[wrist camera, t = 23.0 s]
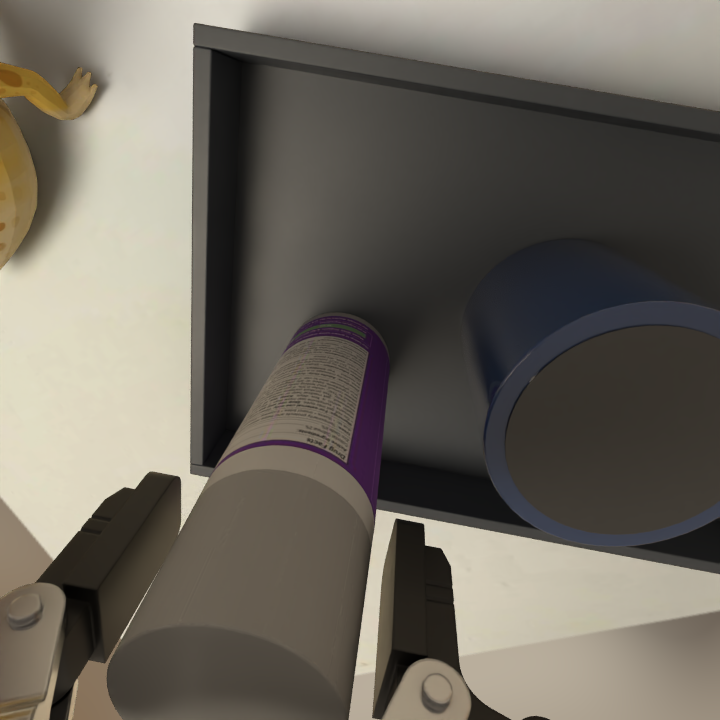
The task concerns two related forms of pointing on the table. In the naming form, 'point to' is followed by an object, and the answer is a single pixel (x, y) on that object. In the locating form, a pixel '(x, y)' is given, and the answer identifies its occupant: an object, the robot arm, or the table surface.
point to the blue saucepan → (595, 394)
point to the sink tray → (417, 235)
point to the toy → (10, 151)
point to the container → (271, 550)
